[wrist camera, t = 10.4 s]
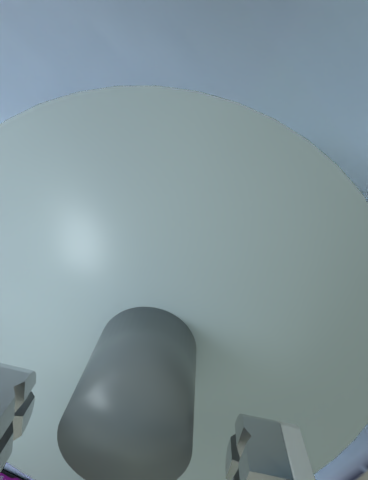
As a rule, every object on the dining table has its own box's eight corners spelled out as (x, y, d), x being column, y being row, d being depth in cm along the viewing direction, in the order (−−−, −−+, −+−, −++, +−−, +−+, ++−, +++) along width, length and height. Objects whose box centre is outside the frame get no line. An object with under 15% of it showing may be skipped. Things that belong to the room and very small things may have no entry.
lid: (-80, 36, 10) (-315, -28, 5) (471, 150, 10) (684, 179, 6) (-56, 445, 15) (-165, 583, 11) (302, 515, 16) (341, 678, 11)
